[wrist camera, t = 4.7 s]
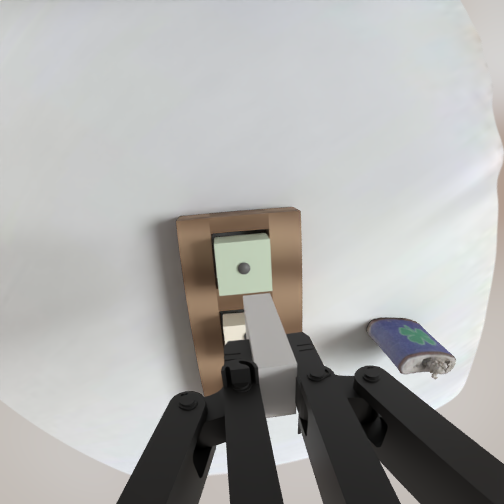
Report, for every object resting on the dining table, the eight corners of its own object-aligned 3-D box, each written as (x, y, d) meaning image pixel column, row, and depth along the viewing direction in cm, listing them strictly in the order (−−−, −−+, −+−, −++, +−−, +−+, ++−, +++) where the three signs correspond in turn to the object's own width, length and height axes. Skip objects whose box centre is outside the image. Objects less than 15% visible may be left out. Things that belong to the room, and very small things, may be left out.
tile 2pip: (222, 314, 28) (223, 327, 26) (269, 309, 29) (273, 322, 26) (227, 352, 30) (228, 367, 27) (271, 348, 30) (275, 362, 27)
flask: (362, 334, 34) (405, 385, 24) (371, 313, 34) (418, 360, 23) (415, 339, 36) (459, 381, 26) (423, 320, 35) (471, 360, 25)
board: (180, 216, 29) (175, 221, 26) (292, 207, 29) (300, 210, 27) (209, 399, 35) (208, 415, 32) (294, 390, 36) (300, 405, 33)
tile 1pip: (214, 237, 26) (213, 244, 24) (265, 232, 27) (270, 239, 24) (219, 285, 28) (219, 296, 25) (268, 280, 28) (272, 291, 25)
